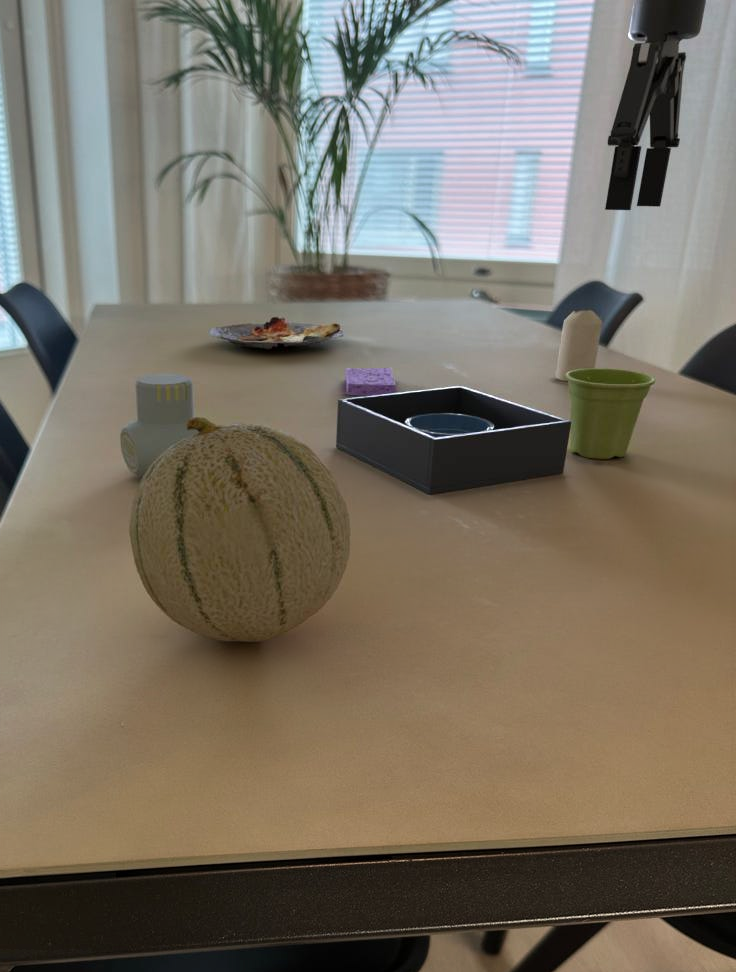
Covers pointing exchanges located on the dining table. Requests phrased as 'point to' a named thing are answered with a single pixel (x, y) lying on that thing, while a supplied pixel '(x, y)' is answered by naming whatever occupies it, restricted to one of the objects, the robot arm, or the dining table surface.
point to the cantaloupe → (239, 532)
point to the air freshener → (157, 419)
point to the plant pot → (605, 409)
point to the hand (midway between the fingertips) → (633, 208)
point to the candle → (578, 342)
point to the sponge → (370, 381)
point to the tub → (452, 439)
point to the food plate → (276, 333)
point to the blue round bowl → (448, 424)
